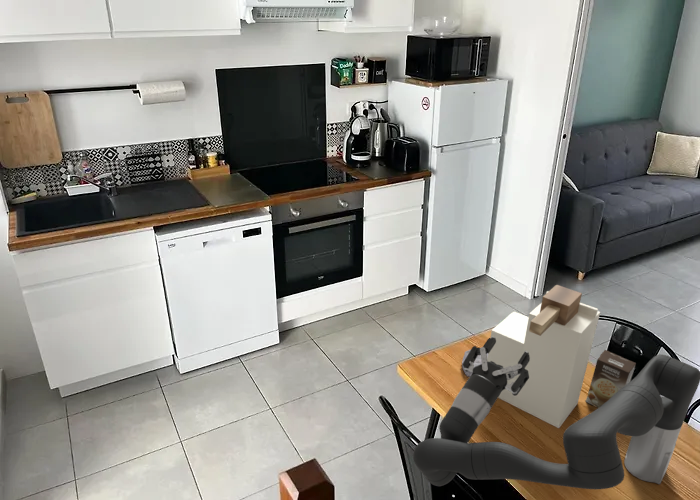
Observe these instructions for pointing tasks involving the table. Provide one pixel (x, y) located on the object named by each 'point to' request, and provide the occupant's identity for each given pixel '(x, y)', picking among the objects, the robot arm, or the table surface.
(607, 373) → the coffee box
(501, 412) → the table surface
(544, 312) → the mallet
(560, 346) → the step stand
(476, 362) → the stone block
